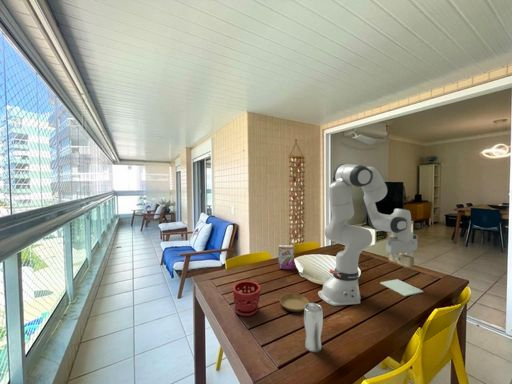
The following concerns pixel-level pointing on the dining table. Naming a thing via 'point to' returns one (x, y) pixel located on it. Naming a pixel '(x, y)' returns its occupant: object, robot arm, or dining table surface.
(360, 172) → the robot arm
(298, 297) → the plant saucer
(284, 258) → the candy bar box
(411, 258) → the maple block
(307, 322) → the beer glass
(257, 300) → the plant pot
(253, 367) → the dining table surface
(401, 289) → the sage mat
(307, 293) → the dining table surface
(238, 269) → the dining table surface
